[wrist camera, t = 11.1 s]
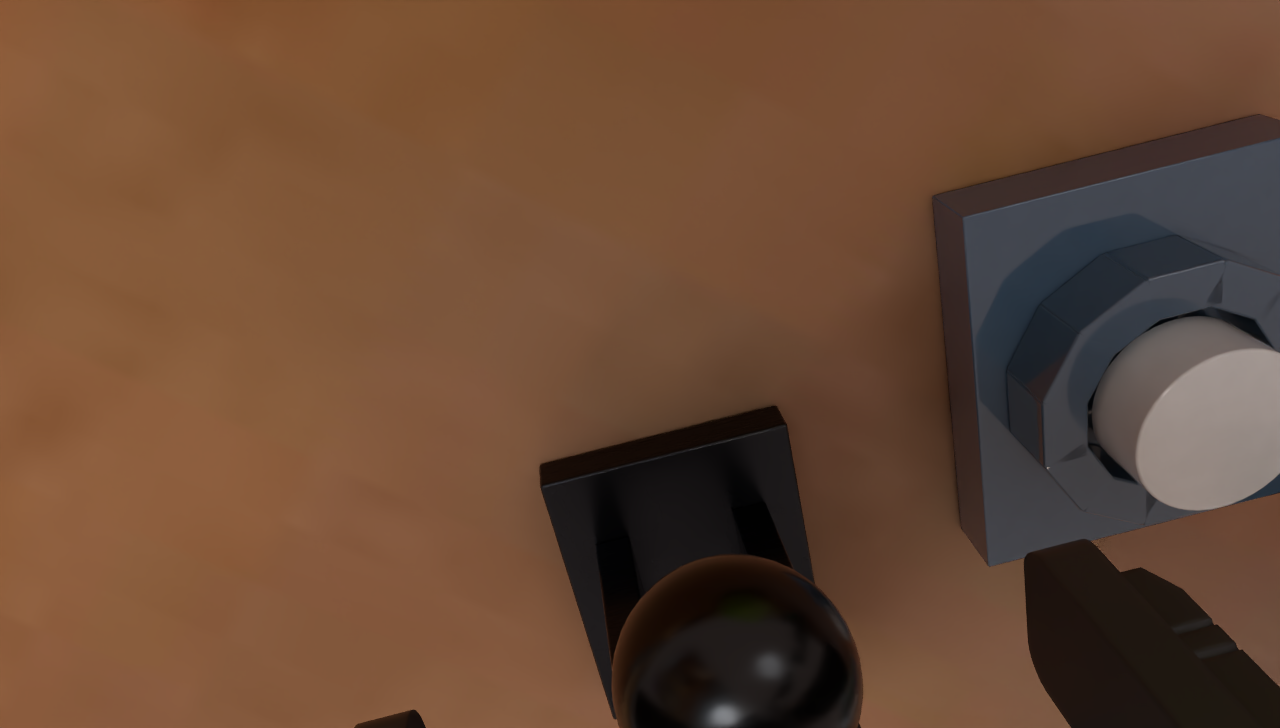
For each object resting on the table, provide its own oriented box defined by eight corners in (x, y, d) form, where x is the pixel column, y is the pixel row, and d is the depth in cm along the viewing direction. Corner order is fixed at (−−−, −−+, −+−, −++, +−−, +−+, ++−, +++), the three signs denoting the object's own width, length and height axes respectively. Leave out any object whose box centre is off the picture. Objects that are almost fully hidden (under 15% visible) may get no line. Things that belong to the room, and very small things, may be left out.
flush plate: (931, 195, 26) (999, 242, 22) (1259, 113, 26) (1379, 147, 22) (960, 528, 31) (1020, 611, 27) (1237, 458, 31) (1332, 531, 27)
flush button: (1089, 339, 24) (1136, 375, 22) (1261, 296, 24) (1323, 328, 22) (1091, 486, 26) (1135, 530, 24) (1251, 445, 26) (1307, 486, 24)
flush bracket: (538, 463, 28) (558, 858, 16) (776, 403, 28) (961, 753, 17) (610, 693, 32) (666, 1139, 20) (818, 640, 32) (991, 1054, 20)
